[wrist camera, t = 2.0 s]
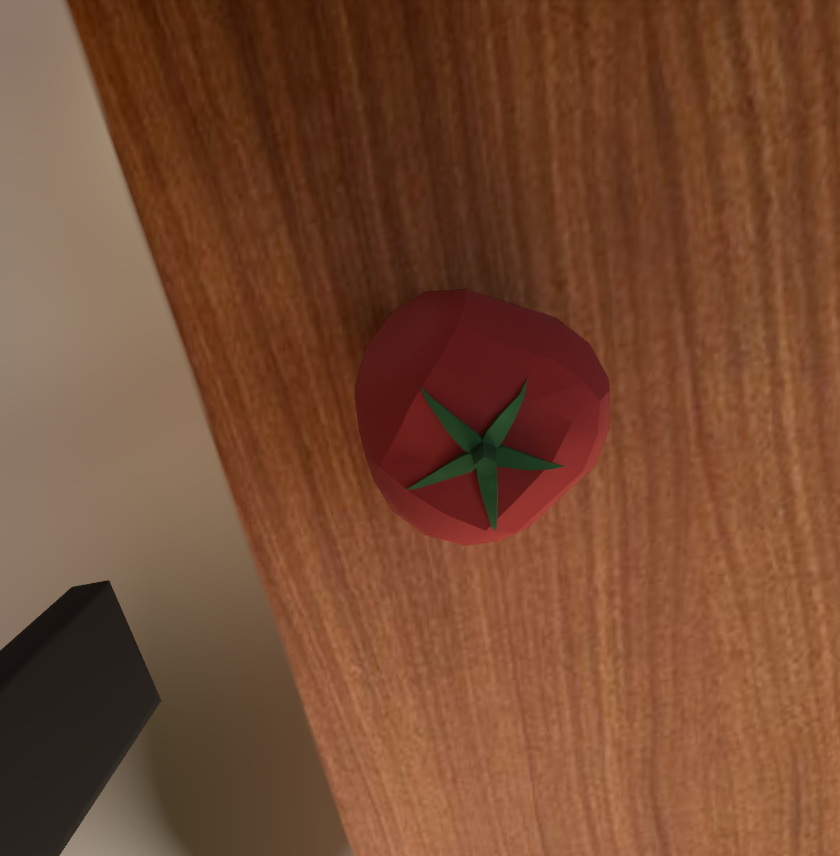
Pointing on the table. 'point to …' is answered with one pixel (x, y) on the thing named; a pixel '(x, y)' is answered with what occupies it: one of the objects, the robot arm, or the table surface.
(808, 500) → the table surface
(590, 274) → the table surface
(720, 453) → the table surface
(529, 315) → the tomato
